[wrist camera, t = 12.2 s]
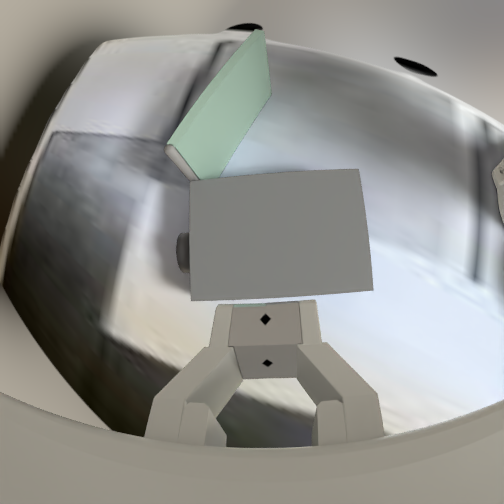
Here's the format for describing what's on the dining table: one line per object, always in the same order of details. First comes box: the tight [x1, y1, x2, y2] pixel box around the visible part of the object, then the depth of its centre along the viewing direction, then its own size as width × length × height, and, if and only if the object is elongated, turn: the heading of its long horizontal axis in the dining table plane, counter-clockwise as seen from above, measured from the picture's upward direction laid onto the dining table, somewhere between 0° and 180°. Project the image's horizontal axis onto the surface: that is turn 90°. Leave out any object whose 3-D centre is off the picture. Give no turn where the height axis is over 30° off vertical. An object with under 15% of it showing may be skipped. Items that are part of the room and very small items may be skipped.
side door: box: [164, 29, 272, 182], centre depth 35 cm, size 20×2×14 cm, turn 152°
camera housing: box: [176, 169, 373, 301], centre depth 36 cm, size 22×14×7 cm, turn 93°
